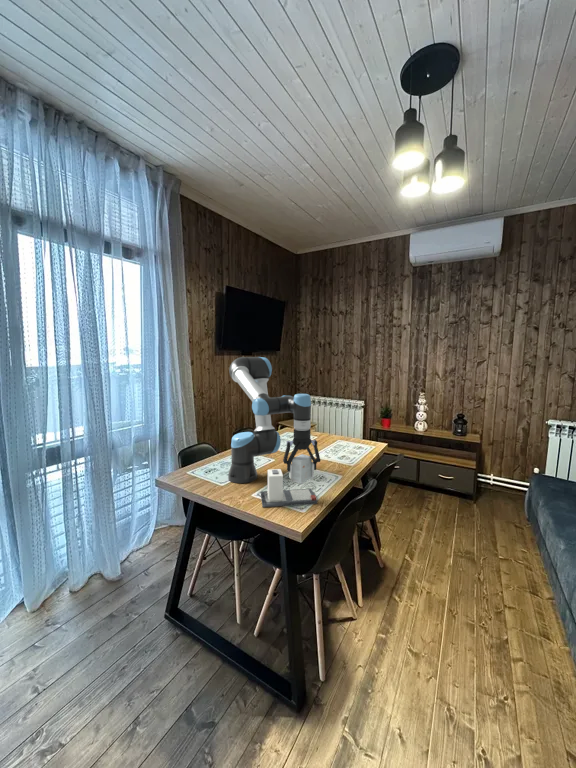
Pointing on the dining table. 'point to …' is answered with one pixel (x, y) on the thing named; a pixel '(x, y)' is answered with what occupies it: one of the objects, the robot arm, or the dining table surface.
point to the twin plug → (275, 484)
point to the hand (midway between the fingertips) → (301, 477)
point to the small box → (301, 468)
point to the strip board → (290, 498)
